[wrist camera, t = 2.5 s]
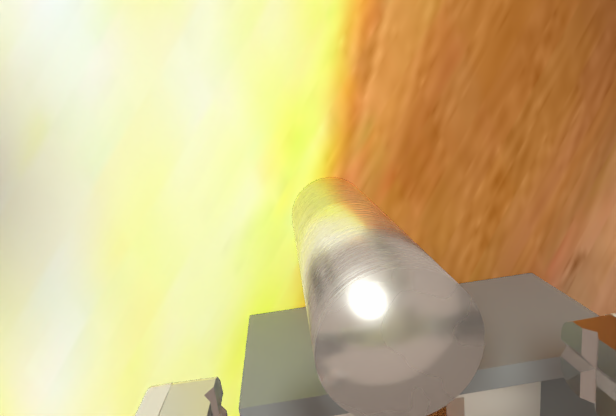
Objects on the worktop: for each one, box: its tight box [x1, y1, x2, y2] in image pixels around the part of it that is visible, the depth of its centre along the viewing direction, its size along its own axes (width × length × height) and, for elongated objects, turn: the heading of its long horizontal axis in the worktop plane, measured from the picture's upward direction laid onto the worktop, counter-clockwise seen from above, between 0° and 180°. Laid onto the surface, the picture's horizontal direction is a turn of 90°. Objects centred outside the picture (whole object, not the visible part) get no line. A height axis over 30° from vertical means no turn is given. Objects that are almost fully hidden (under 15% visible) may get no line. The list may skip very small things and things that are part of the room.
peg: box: [292, 177, 485, 416], centre depth 15 cm, size 4×4×12 cm
